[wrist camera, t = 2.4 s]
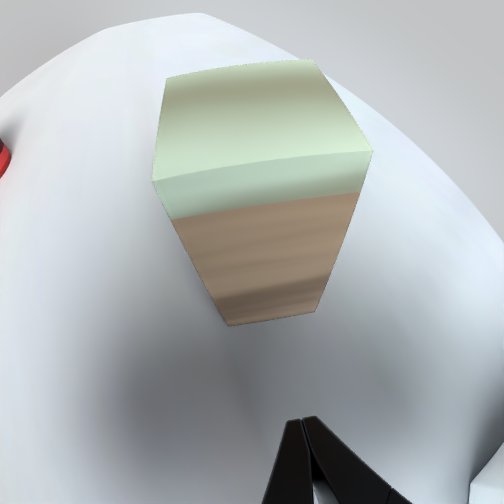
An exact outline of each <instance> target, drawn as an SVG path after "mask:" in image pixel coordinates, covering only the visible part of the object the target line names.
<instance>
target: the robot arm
mask: <svg viewBox="0 0 504 504" xmlns="http://www.w3.org/2000/svg"><path fill="white" fill-rule="evenodd" d="M313 488H314V491H315V494H316V496H317V499H318V502H319V504H412V503H411V502H410V501H409V500H407V499H406V498H405V497H403V496H402V495H401V494H400V493H399V492H397V491H396V490H395V489H394V488H391V486H390V485H389V484H388V483H387V482H386V481H385V480H383V479H382V478H381V477H380V476H379V475H378V474H377V473H376V472H374V471H373V470H372V469H371V468H370V467H369V466H368V465H367V464H366V463H365V462H364V461H362V460H361V459H360V458H359V457H358V456H357V455H356V454H355V453H354V452H353V451H352V450H351V449H350V448H349V447H348V446H347V445H345V444H344V443H343V442H342V441H341V440H340V439H339V438H338V437H337V436H336V435H335V434H334V433H333V432H332V431H331V430H330V429H329V428H328V427H327V426H326V425H325V424H324V423H323V422H322V421H321V420H320V419H319V418H318V417H317V416H309V417H304V418H302V420H301V419H294V420H289V421H287V422H286V424H285V428H284V432H283V435H282V439H281V442H280V446H279V449H278V453H277V456H276V459H275V463H274V466H273V469H272V473H271V476H270V479H269V482H268V485H267V488H266V491H265V494H264V497H263V500H262V503H261V504H314V497H313Z"/></svg>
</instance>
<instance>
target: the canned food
mask: <svg viewBox="0 0 504 504" xmlns="http://www.w3.org/2000/svg"><path fill="white" fill-rule="evenodd" d="M10 158H11V157H10V154H9V150H8V149H7V148H6V146H5V145H4V143H3V142H2V141H1V139H0V178H1V177H2V175H3V174H4V172H5V171H6V169H7V167H8V165H9V162H10Z"/></svg>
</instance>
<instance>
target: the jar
mask: <svg viewBox="0 0 504 504" xmlns="http://www.w3.org/2000/svg"><path fill="white" fill-rule="evenodd" d="M469 504H504V442H503V444H502V445H501V446H500V448H499V449H498V450H497V452H496V453H495V454H494V456H493V457H492V458H491V459H490V461H489V462H488V463H487V464H486V466H485V467H484V468H483V469H482V470H481V472H480V473H479V474H478V475H477V476H476V477H475V478H474V480H473V481H472V482H471V484H470V495H469Z"/></svg>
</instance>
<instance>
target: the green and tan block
mask: <svg viewBox="0 0 504 504" xmlns="http://www.w3.org/2000/svg"><path fill="white" fill-rule="evenodd" d="M372 154H373V149H372V147H371V145H370V144H369V142H368V140H367V139H366V137H365V135H364V134H363V132H362V131H361V129H360V127H359V126H358V124H357V123H356V121H355V120H354V118H353V116H352V115H351V113H350V112H349V110H348V109H347V107H346V106H345V104H344V103H343V101H342V100H341V99H340V97H339V96H338V94H337V93H336V91H335V90H334V89H333V87H332V86H331V84H330V83H329V82H328V80H327V79H326V78H325V76H324V75H323V74H322V72H321V71H320V70H319V68H318V67H317V66H316V64H315V63H314V62H313V61H312V60H289V61H274V62H262V63H252V64H244V65H236V66H229V67H222V68H216V69H210V70H204V71H199V72H194V73H189V74H184V75H179V76H175V77H170V78H167V79H166V84H165V90H164V95H163V101H162V107H161V113H160V119H159V125H158V132H157V139H156V147H155V155H154V163H153V172H152V183H153V185H154V187H155V189H156V191H157V194H158V196H159V198H160V200H161V202H162V204H163V206H164V208H165V210H166V212H167V214H168V216H169V218H170V220H171V222H172V224H173V226H174V228H175V230H176V232H177V234H178V236H179V238H180V239H181V241H182V243H183V245H184V247H185V249H186V251H187V253H188V255H189V257H190V259H191V261H192V262H193V264H194V266H195V268H196V270H197V272H198V274H199V275H200V277H201V279H202V281H203V283H204V285H205V286H206V288H207V290H208V292H209V294H210V296H211V297H212V299H213V301H214V303H215V305H216V306H217V308H218V310H219V312H220V313H221V315H222V317H223V319H224V320H225V322H226V324H227V326H234V325H241V324H248V323H254V322H260V321H267V320H273V319H279V318H284V317H290V316H296V315H301V314H307V313H312V312H315V310H316V308H317V305H318V303H319V301H320V298H321V296H322V293H323V291H324V289H325V286H326V284H327V281H328V279H329V276H330V274H331V271H332V269H333V266H334V264H335V261H336V259H337V256H338V253H339V251H340V248H341V245H342V243H343V240H344V237H345V235H346V232H347V229H348V226H349V224H350V221H351V218H352V215H353V212H354V210H355V207H356V204H357V201H358V198H359V195H360V192H361V189H362V186H363V183H364V180H365V177H366V173H367V170H368V167H369V164H370V161H371V157H372Z"/></svg>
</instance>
